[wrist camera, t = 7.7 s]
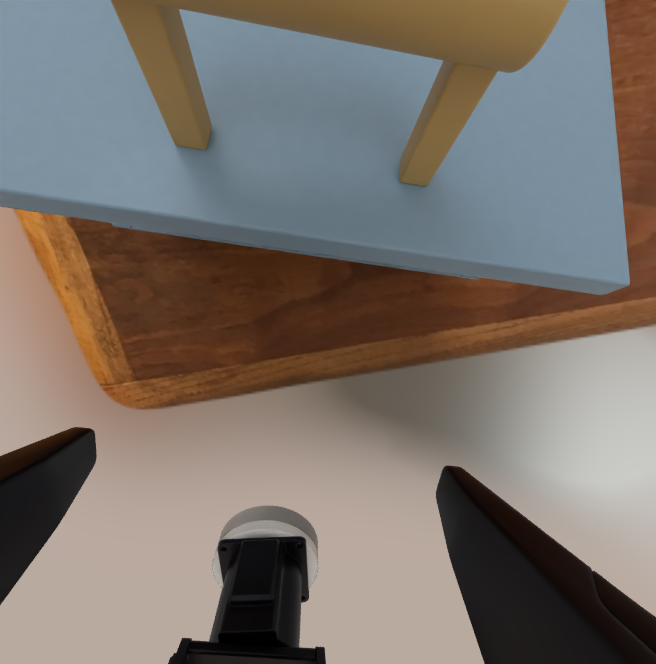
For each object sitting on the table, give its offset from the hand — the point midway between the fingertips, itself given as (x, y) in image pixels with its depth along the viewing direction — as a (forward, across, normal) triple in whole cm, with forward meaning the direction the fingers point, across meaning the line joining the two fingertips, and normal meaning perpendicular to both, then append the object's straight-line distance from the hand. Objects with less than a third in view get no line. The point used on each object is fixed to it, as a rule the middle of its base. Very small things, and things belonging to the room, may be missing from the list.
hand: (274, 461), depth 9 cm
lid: (+4, 0, -11) cm, 11 cm away
